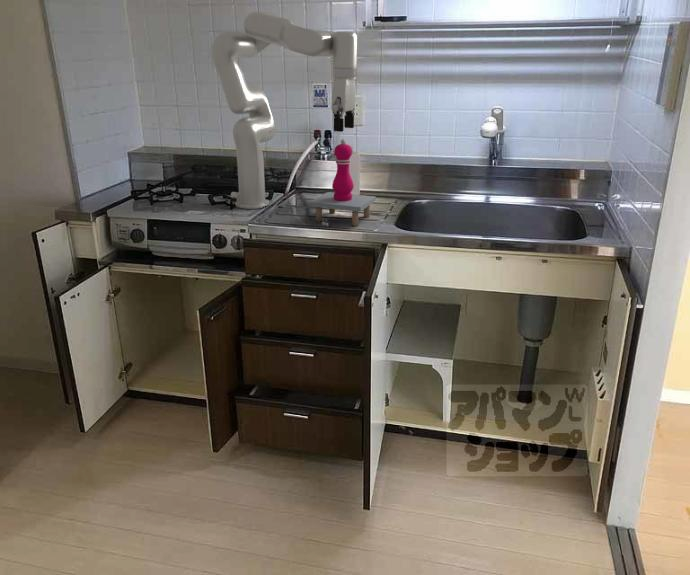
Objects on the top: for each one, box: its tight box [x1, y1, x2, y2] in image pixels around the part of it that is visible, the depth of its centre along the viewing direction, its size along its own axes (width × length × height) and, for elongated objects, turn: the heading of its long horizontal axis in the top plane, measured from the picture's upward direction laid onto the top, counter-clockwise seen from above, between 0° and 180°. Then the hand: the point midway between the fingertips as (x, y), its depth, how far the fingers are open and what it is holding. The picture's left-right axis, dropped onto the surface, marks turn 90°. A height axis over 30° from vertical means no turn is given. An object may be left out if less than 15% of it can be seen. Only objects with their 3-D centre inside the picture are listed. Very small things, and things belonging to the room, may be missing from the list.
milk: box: [347, 143, 361, 195], centre depth 222 cm, size 6×6×22 cm
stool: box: [309, 191, 377, 227], centre depth 206 cm, size 18×16×7 cm
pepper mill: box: [332, 138, 354, 201], centre depth 201 cm, size 7×7×20 cm
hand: (343, 129), depth 196 cm, fingers open, 9 cm apart
